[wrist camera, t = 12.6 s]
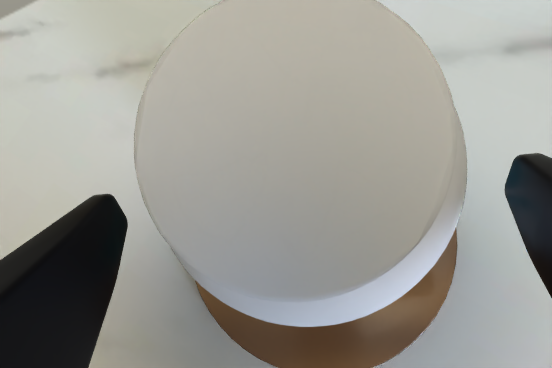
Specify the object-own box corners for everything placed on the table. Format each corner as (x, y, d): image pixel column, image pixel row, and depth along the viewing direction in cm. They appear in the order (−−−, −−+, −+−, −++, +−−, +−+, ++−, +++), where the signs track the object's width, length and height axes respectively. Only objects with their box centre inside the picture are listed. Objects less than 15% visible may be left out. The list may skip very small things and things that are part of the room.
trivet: (470, 368, 17) (474, 372, 17) (199, 375, 19) (195, 380, 18) (436, 94, 18) (439, 91, 18) (184, 124, 20) (181, 121, 20)
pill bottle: (253, 112, 19) (91, -122, 6) (395, 127, 18) (601, -117, 5) (232, 252, 19) (5, 351, 5) (377, 275, 18) (550, 470, 4)
